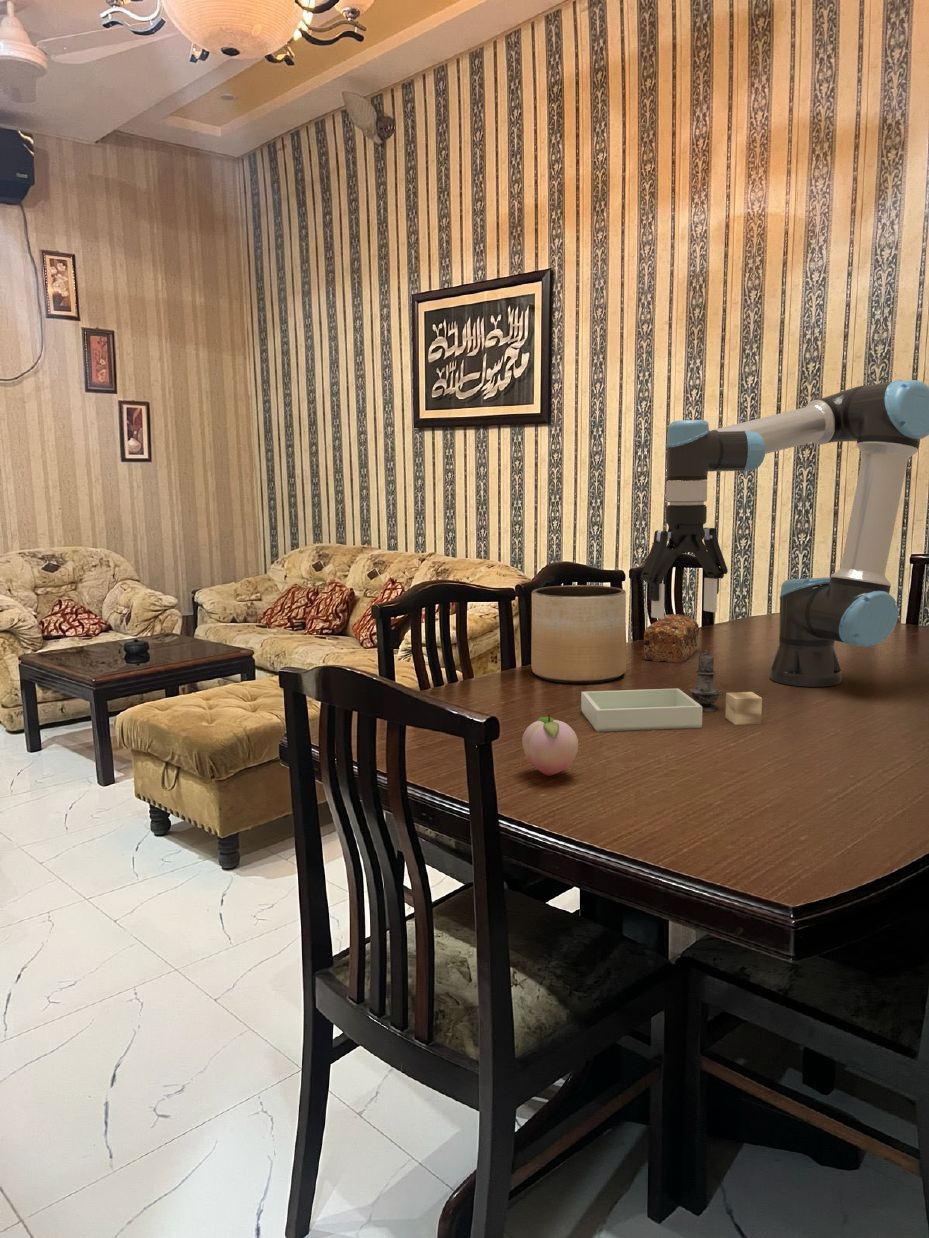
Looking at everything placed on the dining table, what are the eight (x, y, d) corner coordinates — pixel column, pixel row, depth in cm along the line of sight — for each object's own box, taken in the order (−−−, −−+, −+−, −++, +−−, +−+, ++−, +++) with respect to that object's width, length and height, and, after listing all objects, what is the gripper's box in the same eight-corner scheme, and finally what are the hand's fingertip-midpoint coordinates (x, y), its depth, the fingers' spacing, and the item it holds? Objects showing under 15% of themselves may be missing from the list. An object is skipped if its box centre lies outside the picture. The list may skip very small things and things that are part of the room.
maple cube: (751, 717, 173) (751, 691, 172) (761, 724, 168) (762, 698, 167) (725, 718, 172) (726, 692, 172) (734, 725, 167) (735, 699, 167)
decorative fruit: (587, 782, 138) (587, 718, 136) (537, 788, 135) (537, 723, 134) (563, 763, 146) (563, 704, 145) (516, 769, 144) (515, 708, 143)
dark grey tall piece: (721, 712, 176) (722, 652, 174) (690, 711, 177) (691, 651, 176) (719, 704, 182) (720, 646, 180) (689, 703, 183) (690, 646, 181)
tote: (678, 707, 180) (678, 688, 179) (701, 727, 166) (702, 706, 165) (581, 711, 179) (581, 691, 178) (596, 731, 164) (597, 710, 164)
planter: (617, 688, 198) (618, 597, 195) (520, 682, 205) (519, 595, 202) (632, 667, 219) (633, 585, 216) (543, 663, 226) (543, 584, 223)
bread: (661, 648, 243) (661, 611, 241) (701, 651, 238) (701, 613, 236) (641, 661, 227) (641, 622, 225) (683, 664, 222) (684, 624, 220)
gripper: (719, 501, 180) (716, 606, 183) (622, 505, 167) (621, 618, 171) (748, 501, 173) (745, 610, 176) (649, 506, 161) (648, 623, 164)
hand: (684, 614), depth 174 cm, fingers open, 13 cm apart
